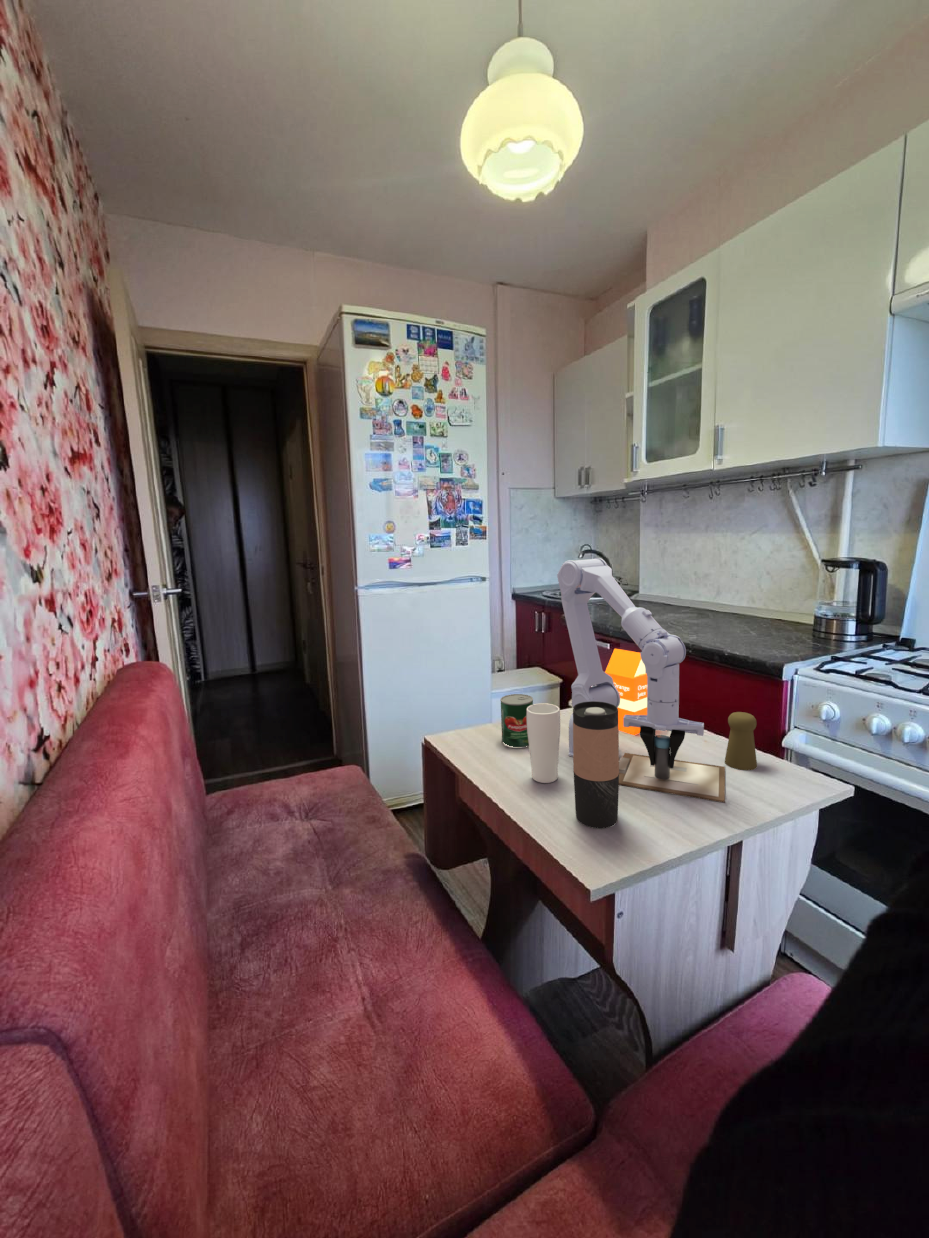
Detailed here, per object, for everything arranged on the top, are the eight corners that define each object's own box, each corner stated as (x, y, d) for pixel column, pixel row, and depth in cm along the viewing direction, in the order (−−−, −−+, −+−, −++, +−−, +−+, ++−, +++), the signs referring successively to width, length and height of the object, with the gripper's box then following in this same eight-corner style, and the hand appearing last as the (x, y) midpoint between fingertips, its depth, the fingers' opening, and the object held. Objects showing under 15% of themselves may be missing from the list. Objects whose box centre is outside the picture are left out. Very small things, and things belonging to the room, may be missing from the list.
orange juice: (623, 719, 136) (623, 646, 133) (652, 727, 129) (653, 650, 126) (604, 726, 132) (604, 650, 129) (633, 735, 125) (634, 656, 122)
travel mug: (617, 807, 92) (617, 701, 89) (620, 831, 85) (620, 716, 82) (574, 804, 94) (572, 700, 91) (573, 827, 86) (571, 714, 83)
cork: (761, 770, 103) (763, 719, 102) (729, 769, 104) (730, 718, 103) (751, 758, 109) (753, 709, 107) (721, 757, 110) (722, 708, 109)
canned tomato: (513, 751, 119) (511, 706, 117) (495, 740, 126) (494, 697, 124) (540, 743, 123) (539, 699, 121) (522, 733, 129) (521, 692, 128)
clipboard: (611, 783, 101) (611, 777, 101) (624, 754, 114) (624, 749, 114) (724, 802, 92) (724, 796, 92) (724, 768, 105) (724, 762, 105)
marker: (653, 778, 100) (653, 739, 99) (655, 771, 103) (655, 734, 101) (669, 780, 99) (669, 741, 97) (671, 774, 101) (671, 736, 100)
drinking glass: (549, 789, 100) (547, 716, 98) (521, 779, 105) (519, 709, 102) (567, 776, 105) (566, 706, 103) (540, 768, 109) (538, 701, 107)
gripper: (620, 700, 98) (620, 767, 100) (703, 708, 91) (701, 779, 93) (626, 690, 104) (626, 753, 106) (704, 697, 98) (703, 764, 100)
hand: (662, 764), depth 100 cm, fingers closed on marker, 3 cm apart
